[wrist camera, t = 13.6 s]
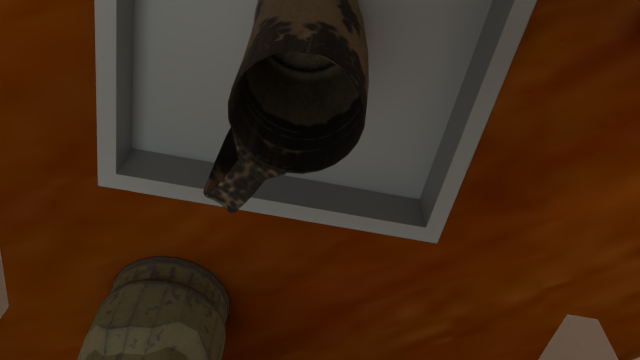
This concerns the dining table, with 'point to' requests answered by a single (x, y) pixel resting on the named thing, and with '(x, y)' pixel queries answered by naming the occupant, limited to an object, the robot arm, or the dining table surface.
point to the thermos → (160, 314)
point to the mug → (293, 96)
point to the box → (381, 114)
